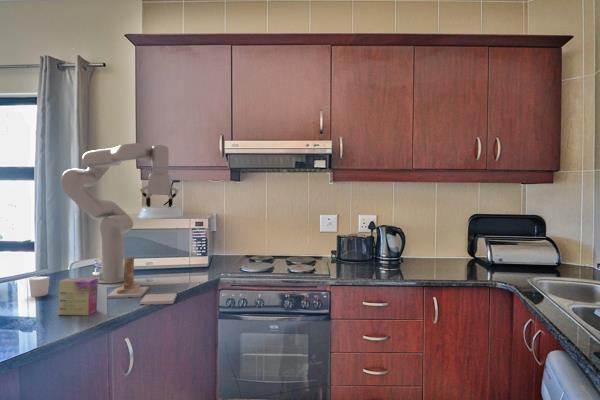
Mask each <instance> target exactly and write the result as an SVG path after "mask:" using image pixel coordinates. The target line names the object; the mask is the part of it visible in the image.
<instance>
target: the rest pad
mask: <svg viewBox="0 0 600 400" xmlns="http://www.w3.org/2000/svg"><path fill="white" fill-rule="evenodd" d="M119 288H120V287H116V288H115V289H114V290H112V291H111V292H110V293H108V294H107V295H106V299H123V298H124V299H125V298H128V297H132V298H142V297H143V296H144V295H145V294H146V292H148V290H149V288H150V287H149V286H140V289H139V290H138V291H137V292H136V293H118V294H117V290H118V289H119ZM143 294H144V295H143ZM142 295H143V296H142ZM141 296H142V297H141Z"/></svg>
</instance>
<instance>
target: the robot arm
mask: <svg viewBox="0 0 600 400" xmlns="http://www.w3.org/2000/svg"><path fill="white" fill-rule="evenodd" d="M169 154H170V152H169V147H168V146H166V145H162V144H160V145H159V144H158V145H157V144H155V145H152V146H150V145H147V144H143V143H140V142H133V143H126V144H121V145H118V146H115V147H110V148H103V149H96V150H89V151H86V152H85V153H83V155H82V158H81V159H82V163H83V165H85V166H86V167H87V168H86V169H82V168H71V169H67V170H65V171H64V172H63V173H62V175H61V179H60V183H61V184H60V185H61V188H62V190H63V192H64V193H65V194H66V196H67V197H68V198H69V199H70V200H72V201H73V202H74V203H75V204H76V205H77V206H78V207H79V208H80V209H81V210H82V211H83V212H84V213H86V215H87V216H88V217H89V218H91V219H92V220H95V221H98V220H99V221H100V220H101V222H100V223H99V230H100V232H99V233H100V236H101V237H100V238H101V269H100V270H101V271H100V272H92V274H91V278H92V277H93V278H98V283H99V284H117V283H122V282H123V283H124V259H125V257H124V256H125V248H124V247H125V242H124V237H123V234H126V233H129V232H130V231H131V230H132V229H133V227H134V221H133V219H132V217H131V216H130V215H129V214H128V213H127V212H126V211H124V209H123V208H121V207H120V206H119V205H118V204H117V203H116V202H114V201H112V200H108V199H107V200H105V199H103V200H102V199H100V198H99V197H97V196H96V195H95V194H94V193H93V192H92V191H91V190H90V189H88V188H90V187H93V186H95V185H96V184H97V183H98V182H99V181H100V180H101V179H102V178H103V176H104V175H105V174H106V172H107V171H108V170H109V169H110V167H114V166H115V167H116V166H119V165H121V164H122V162H125V161H132V160H140V161H144V162H151V167H150V168H148V172H150V173H149V175H148V181H147V186H144V187H142V188H140V189H139V190H140V192H141V194H142V196H143V197H145V202H146V203H145V205H146V206H147V208H149V207H151V198H150V197H151V196H152V195H154V196H155V195H157V196H158V195H159V196H160V195H161V196H162V195H163V196H164V195H165V196H168V208H172V206H173V204H174V203H173V200H174V198H175V197H176V196H177V195H178V193H179V192H180V191H179V189H177V188H176V187H174V186H172V181H171V175H170V174H169V160H170V159H169V158H170V157H169ZM146 190H147V192H146ZM172 191H174V192H173V193H172Z"/></svg>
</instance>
